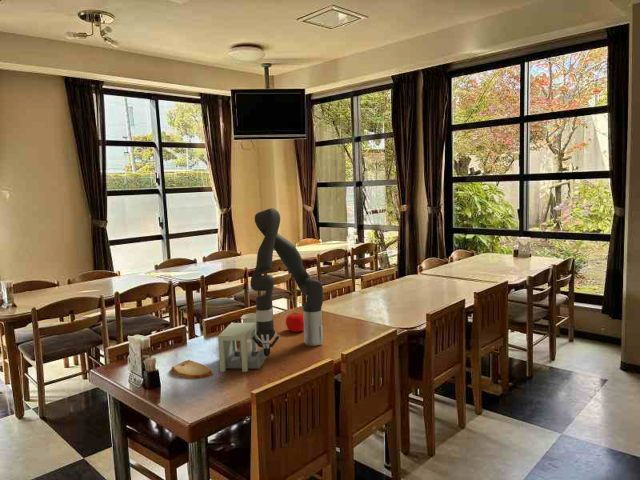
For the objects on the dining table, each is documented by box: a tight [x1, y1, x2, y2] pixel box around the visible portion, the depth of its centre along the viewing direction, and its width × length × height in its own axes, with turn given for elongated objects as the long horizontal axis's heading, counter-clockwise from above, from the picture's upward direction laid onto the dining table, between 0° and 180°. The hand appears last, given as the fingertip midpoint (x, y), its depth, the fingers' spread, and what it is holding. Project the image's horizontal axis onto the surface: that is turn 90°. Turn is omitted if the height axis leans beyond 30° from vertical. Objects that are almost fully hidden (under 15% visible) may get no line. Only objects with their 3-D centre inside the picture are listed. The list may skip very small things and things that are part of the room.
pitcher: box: [240, 312, 261, 341], centre depth 254 cm, size 11×18×14 cm, turn 144°
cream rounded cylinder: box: [239, 339, 252, 361], centre depth 220 cm, size 5×5×9 cm
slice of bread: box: [170, 359, 214, 380], centre depth 212 cm, size 18×18×4 cm
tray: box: [226, 347, 267, 370], centre depth 220 cm, size 16×15×6 cm
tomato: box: [285, 312, 304, 333], centre depth 267 cm, size 12×12×10 cm
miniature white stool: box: [217, 322, 258, 373], centre depth 220 cm, size 12×20×16 cm, turn 174°
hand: (267, 355), depth 219 cm, fingers closed
